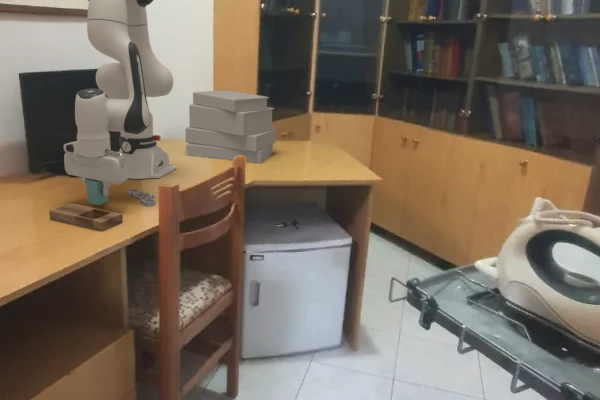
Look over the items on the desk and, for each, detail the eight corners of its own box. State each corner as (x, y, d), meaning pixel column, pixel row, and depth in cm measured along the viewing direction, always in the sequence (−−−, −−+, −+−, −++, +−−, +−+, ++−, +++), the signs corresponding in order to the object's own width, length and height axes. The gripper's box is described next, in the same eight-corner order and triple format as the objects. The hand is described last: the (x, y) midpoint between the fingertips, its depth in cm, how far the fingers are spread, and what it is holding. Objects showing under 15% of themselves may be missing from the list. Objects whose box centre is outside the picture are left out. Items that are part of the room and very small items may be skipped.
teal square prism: (97, 198, 162) (96, 176, 160) (108, 201, 161) (106, 178, 158) (87, 202, 159) (86, 179, 156) (98, 205, 157) (96, 182, 155)
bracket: (132, 203, 161) (127, 188, 174) (132, 209, 162) (127, 193, 175) (158, 201, 164) (151, 186, 177) (158, 207, 165) (151, 192, 178)
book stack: (260, 166, 218) (263, 102, 210) (179, 157, 224) (178, 95, 216) (278, 151, 246) (281, 94, 238) (206, 144, 252) (206, 88, 245)
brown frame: (72, 211, 155) (71, 202, 155) (122, 222, 149) (122, 213, 148) (50, 219, 148) (49, 210, 148) (102, 231, 142) (101, 222, 141)
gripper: (131, 150, 153) (133, 196, 158) (75, 140, 161) (79, 185, 165) (115, 155, 148) (118, 202, 152) (58, 144, 155) (62, 190, 160)
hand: (97, 193), depth 159 cm, fingers closed on teal square prism, 4 cm apart
